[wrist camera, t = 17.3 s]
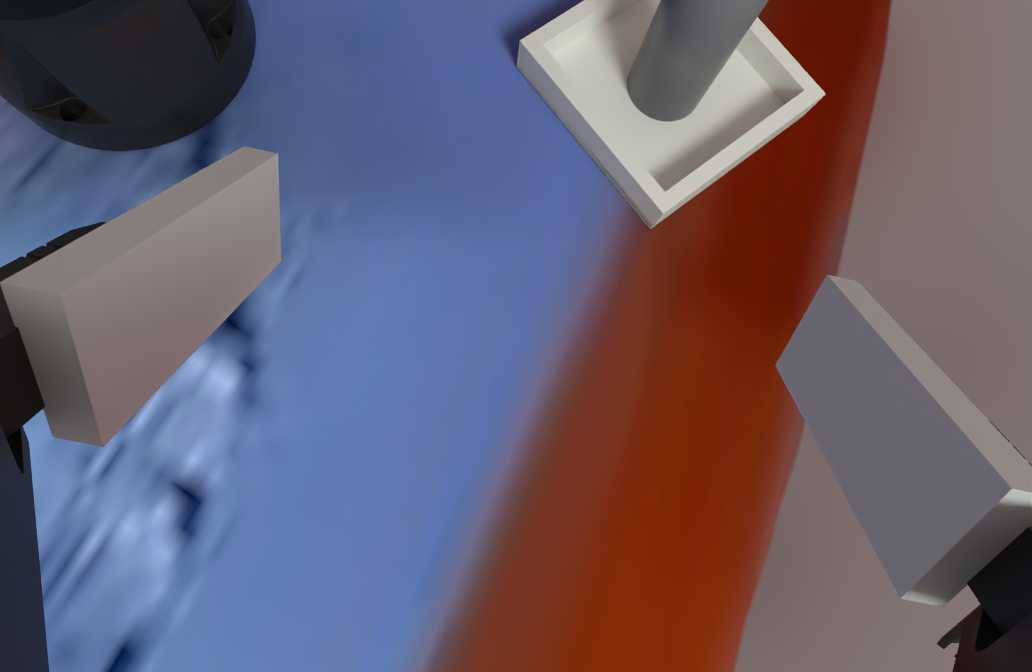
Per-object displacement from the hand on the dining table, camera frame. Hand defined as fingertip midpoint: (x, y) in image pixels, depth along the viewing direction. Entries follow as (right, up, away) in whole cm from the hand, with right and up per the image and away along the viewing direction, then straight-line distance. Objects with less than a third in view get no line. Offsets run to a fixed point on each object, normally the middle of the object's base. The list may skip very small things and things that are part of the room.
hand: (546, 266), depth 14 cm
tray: (+9, +15, +24) cm, 30 cm away
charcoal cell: (+9, +15, +24) cm, 29 cm away
